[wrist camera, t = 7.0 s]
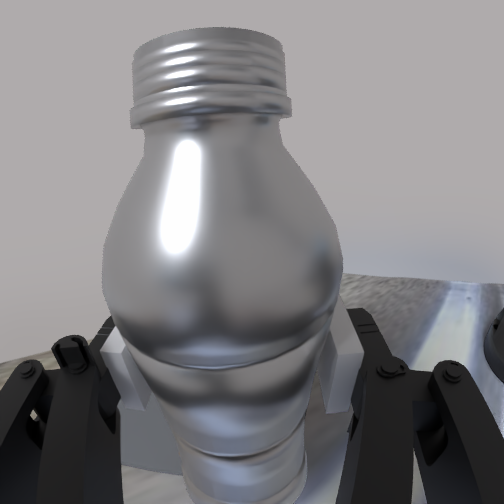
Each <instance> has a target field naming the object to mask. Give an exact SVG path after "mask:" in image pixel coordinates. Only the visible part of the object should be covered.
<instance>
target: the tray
mask: <svg viewBox="0 0 504 504" xmlns="http://www.w3.org/2000/svg"><path fill="white" fill-rule="evenodd" d="M117 407H118V409H119V411H120V415H121V432H120V435H121V464H122V465H126V466H131V467H135V468H140V469H145V470H150V471H156V472H162V473H168V474H175V475H183V473H182V464H181V462H182V461H181V457H180V454H179V450H178V447H177V443H176V440H175V436H174V434H173V432H172V431H171V428H170V426H169V424H168V422H167V421H166V419H165V417H164V415H163V413H162V411H161V409H160V406H159V404H158V402H157V400H156V398H155V396H154V394H153V392H151V395H150V398H149V401H148V404H147V407H146V410H145V411H142V410H136V409H129V408H126V407H125V405H124V403H123V402H122V399H121V398H120V401H119V403H118V405H117Z"/></svg>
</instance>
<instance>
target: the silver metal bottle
mask: <svg viewBox="0 0 504 504" xmlns="http://www.w3.org/2000/svg"><path fill="white" fill-rule="evenodd" d="M132 70H133V71H132V72H133V100H134V107H133V108H131V110H130V123H131V128H132V129H143V130H144V133H145V144H144V156H143V158H142V160H141V162H140V164H139V165H138V167H137V169H136V171H135V173H134V174H133V176H132V178H131V180H130V182H129V184H128V186H127V188H126V190H125V192H124V194H123V196H122V198H121V200H120V202H119V204H118V206H117V209H116V211H115V214H114V217H113V220H112V223H111V226H110V229H109V231H108V234H107V237H106V240H105V244H104V248H103V265H102V266H103V267H102V289H103V294H104V297H105V300H106V302H107V305H108V308H109V310H110V313H111V316H112V319H113V321H114V324H115V325H116V327H117V329H118V330H119V333H120V335H121V337H122V339H123V341H124V343H125V345H126V347H127V349H128V351H129V352H130V354H131V356H132V358H133V360H134V362H135V363H136V365H137V367H138V369H139V370H140V372H141V374H142V376H143V377H144V379H145V381H146V382H147V384H148V386H149V387H150V389H151V391H152V392H153V394H154V396H155V398H156V400H157V402H158V404H159V406H160V409H161V411H162V413H163V415H164V417H165V419H166V421H167V422H168V424H169V426H170V428H171V431H172V432H173V434H174V436H175V440H176V443H177V447H178V450H179V454H180V457H181V461H182V462H181V464H182V473H183V478H184V482H185V486H186V490H187V492H188V494H189V496H190V498H191V499H192V500H193V502H194V503H195V504H293V503H294V502H295V501H296V500H297V498H298V497H299V496H300V494H301V492H302V490H303V488H304V486H305V483H306V479H307V455H306V451H305V447H304V419H305V415H306V410H307V406H308V402H309V398H310V393H311V388H312V384H313V379H314V375H315V372H316V369H317V366H318V363H319V360H320V357H321V354H322V351H323V348H324V345H325V341H326V338H327V335H328V332H329V328H330V325H331V321H332V318H333V314H334V308H335V306H336V303H337V301H338V295H339V289H340V283H341V278H342V272H343V257H342V253H341V248H340V243H339V239H338V234H337V230H336V226H335V224H334V222H333V220H332V218H331V216H330V214H329V213H328V211H327V209H326V207H325V205H324V204H323V202H322V200H321V198H320V196H319V195H318V193H317V191H316V190H315V188H314V186H313V185H312V183H311V182H310V181H309V179H308V178H307V177H306V175H305V174H304V172H303V171H302V170H301V168H300V167H299V166H298V164H297V163H296V162H295V160H294V159H293V158H292V156H291V155H290V154H289V152H288V151H287V150H286V149H285V147H284V146H283V144H282V139H281V134H280V129H279V121H280V119H281V118H289V117H291V116H292V109H291V99H290V98H289V97H287V94H286V75H285V57H284V52H283V51H282V45H281V43H280V42H279V41H278V40H276V39H275V38H273V37H271V36H269V35H266V34H263V33H260V32H256V31H252V30H246V29H239V28H226V27H225V28H224V27H212V28H196V29H189V30H183V31H178V32H174V33H170V34H167V35H163V36H160V37H158V38H156V39H153V40H151V41H149V42H147V43H145V44H143V45H142V46H140V47H139V48H138V50H136V51H135V54H134V60H133V63H132Z"/></svg>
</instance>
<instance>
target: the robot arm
mask: <svg viewBox="0 0 504 504" xmlns="http://www.w3.org/2000/svg"><path fill="white" fill-rule="evenodd" d="M51 350H52V352H53V354H54V356H55V358H56V360H57V362H58V364H59V366H60V368H61V369H55V370H45V369H44V367H43V365H42V364H41V363H40V361H37V360H27V361H24V362H22V363H21V364H19V365H18V366H17V367H16V368H15V370H14V371H13V373H12V374H11V376H10V377H9V379H8V380H7V382H6V383H5V385H4V386H3V388H2V389H1V391H0V504H124V503H123V491H122V474H121V435H120V432H121V415H120V411H119V409H118V407H117V405H118V403H119V401H120V398H121V399H122V402H123V403H124V405H125V407H126V408H129V409H136V410H142V411H145V410H146V407H147V404H148V401H149V398H150V395H151V392H152V391H151V389H150V387H149V386H148V384H147V382H146V381H145V379H144V377H143V376H142V374H141V372H140V370H139V369H138V367H137V365H136V363H135V362H134V360H133V358H132V356H131V354H130V352H129V351H128V349H127V347H126V345H125V343H124V341H123V339H122V337H121V335H120V333H119V330H118V329H117V327H116V325H115V324H114V321H113V319H112V316H110V317H109V318H108V319H107V320H106V321H105V323H104V324H103V326H102V328H101V329H100V330H99V331H98V334H97V335H96V336H95V337H94V339H93V340H92V342H91V343H90V345H89V346H88V343H87V341H86V339H85V338H84V337H82V336H79V335H70V336H66V337H64V338H61V339H59V340H58V341H57V342H56V343H55V344H54V345H53V347H52V348H51ZM484 351H485V355H486V358H487V361H488V363H489V365H490V367H491V368H492V370H493V371H494V373H495V374H496V375H497V376H498V377H499V378H500V380H501V381H503V382H504V308H503V309H502V311H501V312H500V313H499V315H498V316H497V317H496V319H495V320H494V321H493V323H492V325H491V327H490V329H489V332H488V334H487V336H486V339H485V342H484ZM317 371H318V376H319V381H320V386H321V391H322V396H323V401H324V406H325V411H326V414H330V413H339V412H347V411H348V410H349V407H350V403H352V406H353V410H354V414H353V416H352V419H351V422H350V425H349V428H348V431H347V432H349V438H348V444H347V450H346V456H345V461H344V466H343V472H342V476H341V481H340V486H339V490H338V495H337V499H336V503H335V504H411V499H412V484H413V452H414V451H415V455H416V458H417V462H418V466H419V470H420V474H421V478H422V482H423V486H424V491H425V495H426V500H427V504H504V438H503V436H502V434H501V432H500V430H499V428H498V426H497V423H496V421H495V419H494V417H493V415H492V413H491V411H490V409H489V407H488V405H487V403H486V402H485V400H484V398H483V396H482V394H481V392H480V390H479V389H478V387H477V385H476V383H475V381H474V380H473V378H472V376H471V374H470V373H469V371H468V370H467V369H466V367H465V366H464V365H462V364H460V363H459V362H456V361H452V360H444V361H442V362H439V363H438V364H437V365H436V366H435V367H434V370H433V372H427V371H415V370H410V369H409V368H408V366H407V364H406V363H405V362H404V361H403V360H401V359H399V358H397V357H393V356H392V354H391V352H390V350H389V348H388V346H387V344H386V342H385V340H384V338H383V336H382V334H381V332H379V329H378V327H377V325H376V323H375V321H374V319H373V317H372V315H371V314H369V313H368V312H367V311H366V310H364V309H363V308H354V309H346V308H345V306H344V303H343V301H342V299H341V297H340V294H339V295H338V301H337V303H336V306H335V308H334V314H333V318H332V321H331V325H330V328H329V332H328V335H327V338H326V341H325V345H324V348H323V351H322V354H321V357H320V360H319V363H318V366H317ZM32 410H34V411H35V413H36V414H37V417H36V418H35V419H34V420H33V419H32V418H31V416H30V414H31V412H32Z"/></svg>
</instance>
